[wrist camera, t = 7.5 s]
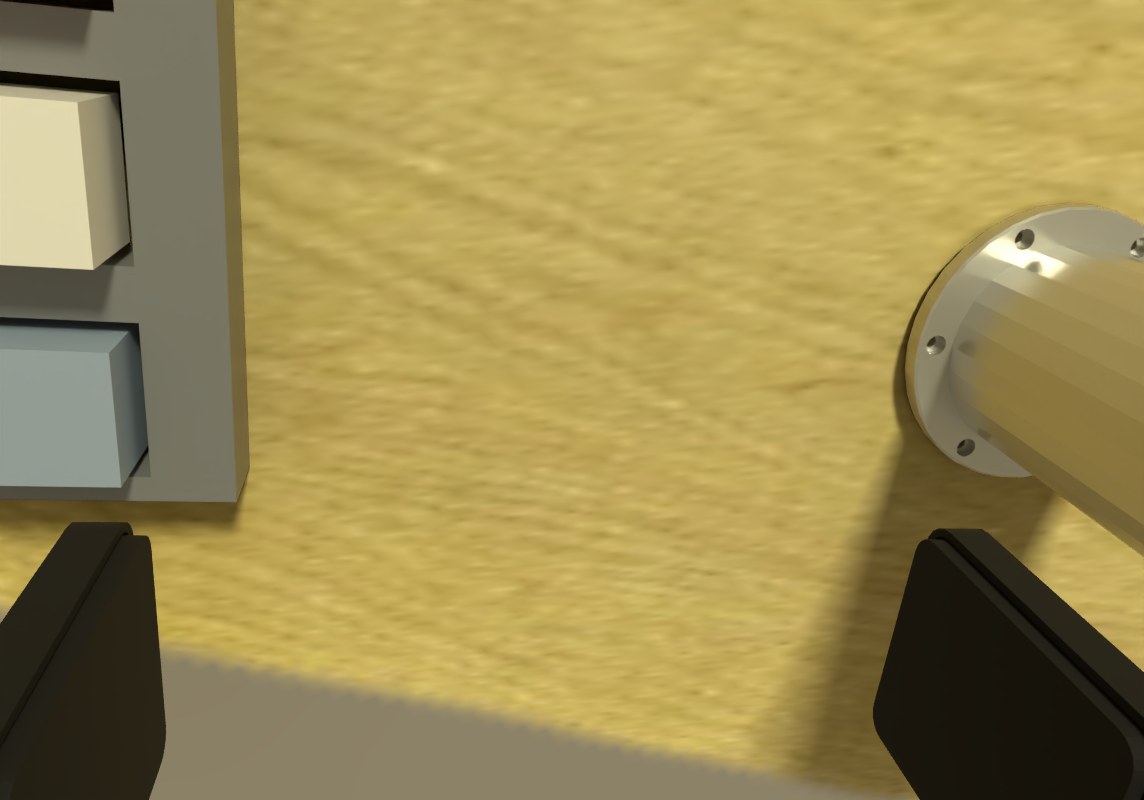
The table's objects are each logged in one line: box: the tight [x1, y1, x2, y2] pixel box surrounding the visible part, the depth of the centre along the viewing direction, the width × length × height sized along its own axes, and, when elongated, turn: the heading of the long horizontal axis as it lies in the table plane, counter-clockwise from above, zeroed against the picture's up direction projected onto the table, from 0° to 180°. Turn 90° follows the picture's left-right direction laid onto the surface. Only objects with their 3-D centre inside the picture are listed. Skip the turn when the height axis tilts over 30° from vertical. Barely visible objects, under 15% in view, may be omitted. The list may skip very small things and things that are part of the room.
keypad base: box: [0, 0, 250, 502], centre depth 31 cm, size 12×24×3 cm, turn 174°
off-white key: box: [0, 83, 130, 270], centre depth 29 cm, size 5×5×4 cm
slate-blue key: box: [0, 317, 148, 488], centre depth 33 cm, size 5×5×4 cm
